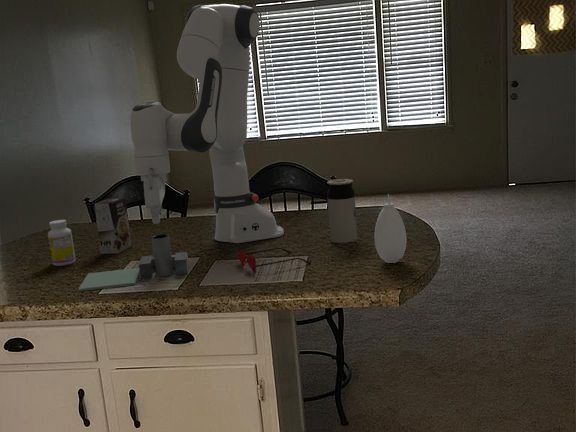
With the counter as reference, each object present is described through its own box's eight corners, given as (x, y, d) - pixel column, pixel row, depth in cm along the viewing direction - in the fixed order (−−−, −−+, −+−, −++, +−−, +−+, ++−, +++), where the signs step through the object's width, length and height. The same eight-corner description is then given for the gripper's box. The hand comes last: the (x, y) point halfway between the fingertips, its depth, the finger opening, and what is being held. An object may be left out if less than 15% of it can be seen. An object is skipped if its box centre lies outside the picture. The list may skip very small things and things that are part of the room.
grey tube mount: (188, 263, 171) (186, 249, 170) (187, 273, 162) (186, 259, 161) (144, 268, 170) (142, 254, 169) (140, 279, 160) (138, 264, 159)
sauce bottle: (388, 269, 151) (384, 197, 148) (370, 262, 158) (366, 194, 155) (413, 263, 155) (410, 192, 151) (394, 256, 162) (391, 189, 158)
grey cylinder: (176, 271, 165) (172, 234, 163) (167, 276, 160) (163, 238, 158) (161, 271, 166) (157, 234, 164) (152, 276, 162) (148, 238, 160)
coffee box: (119, 253, 189) (112, 202, 186) (100, 254, 191) (93, 203, 187) (132, 246, 198) (126, 196, 195) (114, 246, 199) (107, 197, 196)
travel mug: (326, 243, 181) (322, 183, 177) (335, 237, 188) (331, 179, 185) (353, 244, 178) (349, 182, 174) (360, 237, 185) (357, 178, 182)
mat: (140, 269, 169) (140, 267, 169) (135, 284, 156) (135, 282, 156) (88, 275, 168) (88, 273, 167) (78, 291, 154) (78, 289, 154)
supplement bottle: (56, 261, 186) (49, 220, 183) (78, 259, 186) (72, 218, 184) (49, 267, 179) (42, 224, 177) (72, 265, 180) (66, 222, 177)
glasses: (236, 264, 168) (234, 246, 167) (291, 254, 174) (290, 237, 173) (253, 277, 156) (251, 258, 154) (312, 265, 162) (311, 247, 161)
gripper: (162, 170, 148) (167, 226, 150) (166, 162, 167) (171, 211, 170) (135, 172, 147) (141, 228, 149) (143, 163, 167) (148, 213, 169)
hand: (157, 219), depth 160 cm, fingers open, 8 cm apart
